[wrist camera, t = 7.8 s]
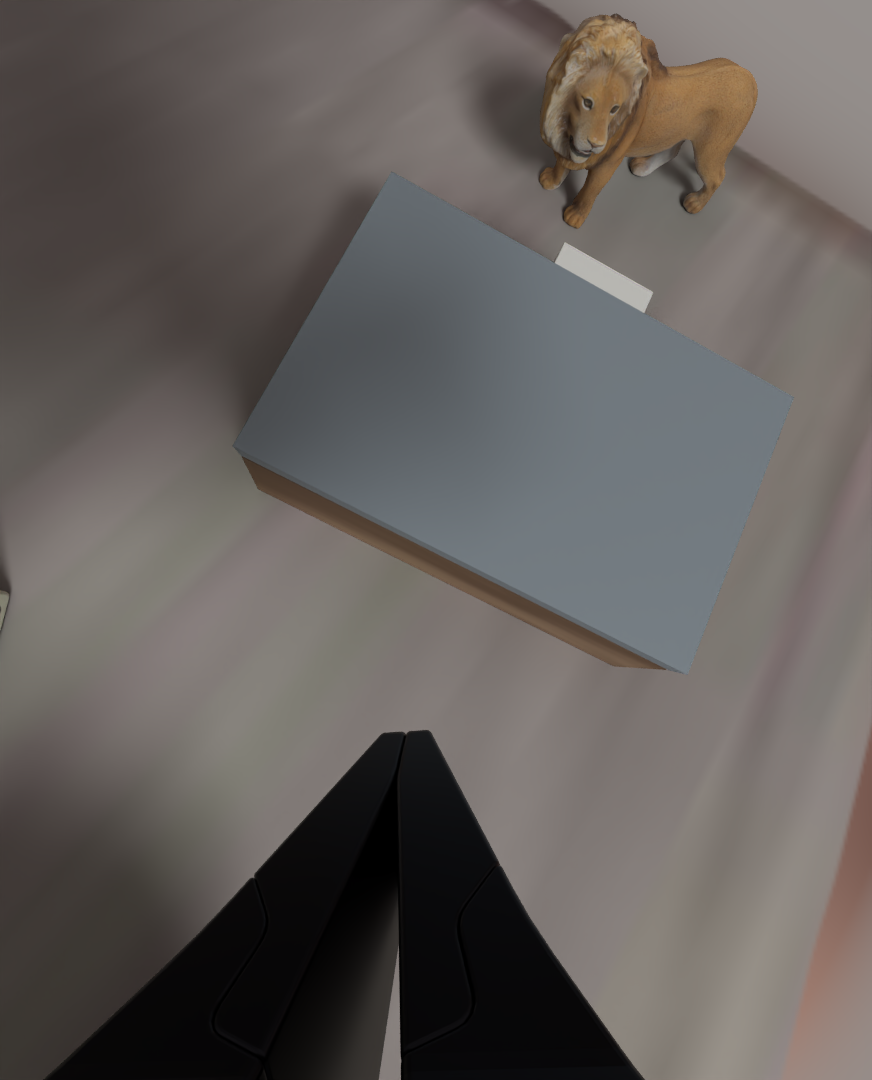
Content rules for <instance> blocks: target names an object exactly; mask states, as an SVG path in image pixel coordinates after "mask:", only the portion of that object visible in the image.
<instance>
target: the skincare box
mask: <svg viewBox="0 0 872 1080" xmlns="http://www.w3.org/2000/svg"><path fill="white" fill-rule="evenodd" d="M8 600H9V594H8V593H7V592H6V591H1V590H0V630H1V626H2V623H3V619H4V616H5V612H6V607H7V604H8Z"/></svg>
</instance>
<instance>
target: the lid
mask: <svg viewBox="0 0 872 1080" xmlns="http://www.w3.org/2000/svg"><path fill="white" fill-rule="evenodd" d="M652 294H653V292H652V291H650V290H648V289H647V288H645V287H643V286H641V285H640V284H638V283H636V282H634V281H632V280H631V279H629V278H627V277H625V276H624V275H622V274H620V273H618V272H617V271H615V270H613V269H611V268H609V267H608V266H606V265H604V264H602V263H601V262H599V261H597V260H595V259H594V258H592V257H590V256H588V255H587V254H585V253H583V252H581V251H579V250H578V249H576V248H574V247H572V246H571V245H569V244H567V243H564V245H563V247H562V248H561V250H560V252H559V254H558V256H557V257H556V259H555V261H554V262H552V261H550V260H549V259H547V258H545V257H543V256H541V255H540V254H538V253H536V252H534V251H533V250H531V249H529V248H527V247H525V246H524V245H522V244H520V243H518V242H516V241H515V240H513V239H511V238H509V237H508V236H506V235H504V234H502V233H500V232H499V231H497V230H495V229H493V228H492V227H490V226H488V225H486V224H484V223H483V222H481V221H479V220H477V219H476V218H474V217H472V216H470V215H468V214H467V213H465V212H463V211H461V210H459V209H458V208H456V207H454V206H452V205H451V204H449V203H447V202H445V201H443V200H442V199H440V198H438V197H436V196H435V195H433V194H431V193H429V192H427V191H426V190H424V189H422V188H420V187H418V186H417V185H415V184H413V183H411V182H410V181H408V180H406V179H404V178H402V177H401V176H399V175H397V174H395V173H394V172H391V174H390V175H389V177H388V179H387V181H386V182H385V184H384V186H383V187H382V189H381V191H380V193H379V194H378V196H377V198H376V200H375V201H374V203H373V205H372V206H371V208H370V210H369V212H368V213H367V215H366V217H365V218H364V220H363V222H362V224H361V225H360V227H359V229H358V231H357V232H356V234H355V236H354V237H353V239H352V241H351V243H350V244H349V246H348V248H347V250H346V251H345V253H344V255H343V256H342V258H341V260H340V262H339V263H338V265H337V267H336V268H335V270H334V272H333V274H332V275H331V277H330V279H329V281H328V282H327V284H326V286H325V287H324V289H323V291H322V293H321V294H320V296H319V298H318V300H317V301H316V303H315V305H314V306H313V308H312V310H311V312H310V313H309V315H308V317H307V318H306V320H305V322H304V324H303V325H302V327H301V329H300V331H299V332H298V334H297V336H296V337H295V339H294V341H293V343H292V344H291V346H290V348H289V350H288V351H287V353H286V355H285V356H284V358H283V360H282V362H281V363H280V365H279V367H278V368H277V370H276V372H275V374H274V375H273V377H272V379H271V381H270V382H269V384H268V386H267V387H266V389H265V391H264V393H263V394H262V396H261V398H260V400H259V401H258V403H257V405H256V406H255V408H254V410H253V412H252V413H251V415H250V417H249V419H248V420H247V422H246V424H245V425H244V427H243V429H242V431H241V432H240V434H239V436H238V437H237V439H236V441H235V443H234V444H233V447H234V448H235V449H236V450H237V452H238V453H239V454H240V455H241V456H243V457H245V458H247V459H249V460H251V461H253V462H255V463H257V464H259V465H261V466H263V467H265V468H267V469H269V470H271V471H273V472H275V473H277V474H279V475H281V476H283V477H285V478H287V479H289V480H291V481H293V482H295V483H297V484H299V485H301V486H303V487H305V488H307V489H309V490H311V491H313V492H314V493H316V494H318V495H320V496H322V497H324V498H326V499H328V500H330V501H332V502H334V503H336V504H338V505H340V506H342V507H344V508H346V509H348V510H350V511H352V512H354V513H356V514H358V515H360V516H362V517H364V518H366V519H368V520H370V521H372V522H374V523H376V524H378V525H380V526H382V527H384V528H386V529H388V530H390V531H392V532H394V533H396V534H398V535H400V536H402V537H404V538H406V539H408V540H410V541H412V542H414V543H416V544H418V545H420V546H422V547H424V548H426V549H428V550H430V551H432V552H434V553H436V554H438V555H440V556H442V557H444V558H446V559H448V560H450V561H452V562H454V563H456V564H458V565H460V566H462V567H464V568H466V569H468V570H470V571H472V572H474V573H476V574H478V575H480V576H482V577H484V578H486V579H488V580H490V581H492V582H494V583H496V584H498V585H500V586H502V587H504V588H506V589H508V590H510V591H512V592H514V593H516V594H518V595H520V596H522V597H524V598H526V599H528V600H530V601H532V602H534V603H536V604H538V605H540V606H542V607H544V608H546V609H548V610H550V611H552V612H554V613H555V614H557V615H559V616H561V617H563V618H565V619H567V620H569V621H571V622H573V623H575V624H577V625H579V626H581V627H583V628H585V629H587V630H589V631H591V632H593V633H595V634H597V635H599V636H601V637H603V638H605V639H607V640H609V641H611V642H613V643H615V644H617V645H619V646H621V647H623V648H625V649H627V650H629V651H631V652H633V653H635V654H637V655H639V656H641V657H643V658H645V659H647V660H649V661H651V662H653V663H655V664H657V665H659V666H661V667H663V668H665V669H667V670H670V671H674V672H678V673H682V674H686V675H688V672H689V669H690V667H691V664H692V662H693V659H694V656H695V654H696V651H697V649H698V646H699V643H700V641H701V638H702V636H703V633H704V630H705V628H706V625H707V623H708V620H709V617H710V615H711V612H712V609H713V607H714V604H715V602H716V599H717V596H718V594H719V591H720V589H721V586H722V583H723V581H724V578H725V576H726V573H727V570H728V568H729V565H730V563H731V560H732V557H733V555H734V552H735V550H736V547H737V544H738V542H739V539H740V536H741V534H742V531H743V529H744V526H745V523H746V521H747V518H748V516H749V513H750V510H751V508H752V505H753V503H754V500H755V497H756V495H757V492H758V490H759V487H760V484H761V482H762V479H763V476H764V474H765V471H766V469H767V466H768V463H769V461H770V458H771V456H772V453H773V450H774V448H775V445H776V443H777V440H778V437H779V435H780V432H781V430H782V427H783V424H784V422H785V419H786V417H787V414H788V411H789V409H790V406H791V403H792V401H793V398H794V397H793V396H791V395H789V394H787V393H786V392H784V391H782V390H780V389H779V388H777V387H775V386H773V385H771V384H770V383H768V382H766V381H764V380H762V379H761V378H759V377H757V376H755V375H754V374H752V373H750V372H748V371H746V370H745V369H743V368H741V367H739V366H738V365H736V364H734V363H732V362H730V361H729V360H727V359H725V358H723V357H721V356H720V355H718V354H716V353H714V352H713V351H711V350H709V349H707V348H705V347H704V346H702V345H700V344H698V343H697V342H695V341H693V340H691V339H689V338H688V337H686V336H684V335H682V334H680V333H679V332H677V331H675V330H673V329H672V328H670V327H668V326H666V325H664V324H663V323H661V322H659V321H657V320H656V319H654V318H652V317H650V316H648V315H647V314H645V313H644V312H645V310H646V307H647V305H648V303H649V301H650V299H651V296H652Z"/></svg>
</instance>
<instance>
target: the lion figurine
mask: <svg viewBox="0 0 872 1080" xmlns="http://www.w3.org/2000/svg"><path fill="white" fill-rule="evenodd" d="M757 95H758V90H757V84H756V81H755V79H754V77H753V75H752V74H751V73H750V72H749V71H748V70H746V69H744V68H742V67H740V66H739V65H738V64H736V63H734V62H732V61H730V60H728V59H726V58H715V59H711V60H707V61H704V62H700V63H697V64H692V65H686V66H678V67H665V66H663V65H662V63H661V62H660V61H659V58H658V53H657V50H656V48H655V44H654V42H653V41H652V40H650V39H646V38H645V37H644V36H642V35H640V32H639V31H638V30H637V27H636V23H635V22H631V21H629V20H628V19H623V18H622V17H621V16H620V15H618V14H613V15H612V16H608V15H599V16H595V17H590V18H588V19H585V20H584V21H583V22H582V23H581V24H580V26H579V27H578V29H577V30H576V31H575V32H574V33H568V34H566V35H565V36H564V37H563V38H562V40H561V44H560V48H559V52H558V53H557V55H556V57H555V58H554V61H553V63H552V65H551V67H550V68H549V70H548V72H547V76H546V84H545V92H544V96H543V102H542V107H541V111H540V133H541V137H542V139H543V141H544V142H545V144H547V145H548V146H549V147H551V148H552V149H553V151H554V155H555V157H556V158H557V161H556V165H555V167H554V168H550V167H547V168H546V169H545V170H544V171H543V172H542V174H541V175H540V184H541V185H542V186H543V188H544V189H546V190H554V189H556V188H558V187H559V186H560V185H561V183H562V182H563V181H564V179H565V178H566V176H567V175H568V174H569V172H570V171H571V170H580V169H586V170H588V175H587V178H586V181H585V184H584V186H583V187H582V189H581V190H580V192H579V193H578V195H577V196H576V197H575V198H574V201H573V203H572V205H570V206H569V207H567V208H566V210H565V212H564V221H565V222H566V223H567V224H568V225H570V226H572V227H574V228H576V229H578V228H579V227H580V226H581V225H582V224H583V222H584V221H585V219H586V218H587V216H588V214H589V212H590V210H591V208H592V205H593V203H594V201H595V199H596V197H597V195H598V194H599V193H600V191H601V190H602V188H603V187H604V186H605V185H606V183H607V182H608V181H609V180H610V178H611V177H612V175H613V173H614V172H615V170H616V169H617V167H618V166H619V165H620V163H621V162H622V160H623V158H624V157H635V158H634V159H633V160H632V161H631V162H630V168H631V171H632V173H633V174H635V175H637V176H646V175H648V174H650V173H651V172H652V171H654V170H655V169H657V168H658V167H660V166H661V165H663V164H665V163H666V162H668V161H669V160H671V159H673V158H674V157H676V155H677V154H678V152H679V150H680V147H681V146H682V144H683V142H684V141H685V140H686V139H688V140H690V141H692V145H693V150H694V159H695V165H696V170H697V172H698V174H699V176H700V178H701V179H702V181H703V183H704V185H703V187H702V189H700V190H699V191H697V192H692V193H690V194H688V195H687V196H686V197H685V199H684V203H683V206H684V207H685V209H686V210H687V211H688V212H689V213H692V214H695V213H698V212H699V211H700V210H702V208H703V207H704V206H705V205H706V203H707V202H708V201H709V199H710V198H711V196H712V195H713V193H714V192H715V191H716V189H717V188H718V187H719V186H720V184H721V182H722V181H723V179H724V177H725V168H724V163H725V161H726V158H727V156H728V153H729V152H730V151H731V149H732V148H733V146H734V145H735V143H736V142H737V140H738V139H739V137H740V136H741V134H742V132H743V130H744V129H745V127H746V125H747V123H748V121H749V120H750V117H751V115H752V113H753V110H754V108H755V105H756V101H757ZM648 155H651V156H649V157H644V156H648Z"/></svg>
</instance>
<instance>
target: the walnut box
mask: <svg viewBox="0 0 872 1080" xmlns="http://www.w3.org/2000/svg"><path fill="white" fill-rule="evenodd" d="M242 458H243V460H244V462H245V464H246V466H247V468H248V470H249V472H250V474H251V476H252V478H253V480H254V482H255V484H256V486H257V488H258V489H259V490H261V491H263V492H265V493H267V494H269V495H271V496H273V497H275V498H277V499H279V500H281V501H283V502H285V503H287V504H289V505H291V506H293V507H295V508H297V509H299V510H301V511H303V512H305V513H307V514H309V515H311V516H313V517H315V518H317V519H319V520H321V521H323V522H325V523H327V524H329V525H331V526H333V527H335V528H337V529H339V530H341V531H343V532H345V533H347V534H349V535H351V536H353V537H355V538H357V539H359V540H361V541H363V542H365V543H367V544H369V545H371V546H373V547H375V548H377V549H379V550H381V551H383V552H385V553H387V554H390V555H392V556H394V557H396V558H398V559H400V560H402V561H404V562H406V563H408V564H410V565H412V566H414V567H416V568H418V569H420V570H422V571H424V572H426V573H428V574H430V575H432V576H434V577H436V578H438V579H440V580H442V581H444V582H446V583H448V584H450V585H452V586H454V587H456V588H458V589H460V590H462V591H464V592H466V593H468V594H470V595H472V596H474V597H476V598H478V599H480V600H482V601H484V602H486V603H488V604H490V605H492V606H494V607H496V608H498V609H500V610H502V611H504V612H506V613H508V614H510V615H512V616H514V617H516V618H518V619H520V620H522V621H524V622H526V623H528V624H530V625H532V626H534V627H536V628H538V629H540V630H542V631H544V632H546V633H548V634H550V635H552V636H554V637H556V638H558V639H560V640H562V641H564V642H566V643H568V644H570V645H572V646H574V647H576V648H578V649H580V650H582V651H584V652H586V653H588V654H590V655H592V656H594V657H596V658H598V659H600V660H602V661H604V662H606V663H608V664H610V665H612V666H617V667H632V668H647V669H662V670H666V669H665V668H663V667H661V666H659V665H657V664H655V663H653V662H651V661H649V660H647V659H645V658H643V657H641V656H639V655H637V654H635V653H633V652H631V651H629V650H627V649H625V648H623V647H621V646H619V645H617V644H615V643H613V642H611V641H609V640H607V639H605V638H603V637H601V636H599V635H597V634H595V633H593V632H591V631H589V630H587V629H585V628H583V627H581V626H579V625H577V624H575V623H573V622H571V621H569V620H567V619H565V618H563V617H561V616H559V615H557V614H555V613H554V612H552V611H550V610H548V609H546V608H544V607H542V606H540V605H538V604H536V603H534V602H532V601H530V600H528V599H526V598H524V597H522V596H520V595H518V594H516V593H514V592H512V591H510V590H508V589H506V588H504V587H502V586H500V585H498V584H496V583H494V582H492V581H490V580H488V579H486V578H484V577H482V576H480V575H478V574H476V573H474V572H472V571H470V570H468V569H466V568H464V567H462V566H460V565H458V564H456V563H454V562H452V561H450V560H448V559H446V558H444V557H442V556H440V555H438V554H436V553H434V552H432V551H430V550H428V549H426V548H424V547H422V546H420V545H418V544H416V543H414V542H412V541H410V540H408V539H406V538H404V537H402V536H400V535H398V534H396V533H394V532H392V531H390V530H388V529H386V528H384V527H382V526H380V525H378V524H376V523H374V522H372V521H370V520H368V519H366V518H364V517H362V516H360V515H358V514H356V513H354V512H352V511H350V510H348V509H346V508H344V507H342V506H340V505H338V504H336V503H334V502H332V501H330V500H328V499H326V498H324V497H322V496H320V495H318V494H316V493H314V492H313V491H311V490H309V489H307V488H305V487H303V486H301V485H299V484H297V483H295V482H293V481H291V480H289V479H287V478H285V477H283V476H281V475H279V474H277V473H275V472H273V471H271V470H269V469H267V468H265V467H263V466H261V465H259V464H257V463H255V462H253V461H251V460H249V459H247V458H245V457H243V456H242Z"/></svg>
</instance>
